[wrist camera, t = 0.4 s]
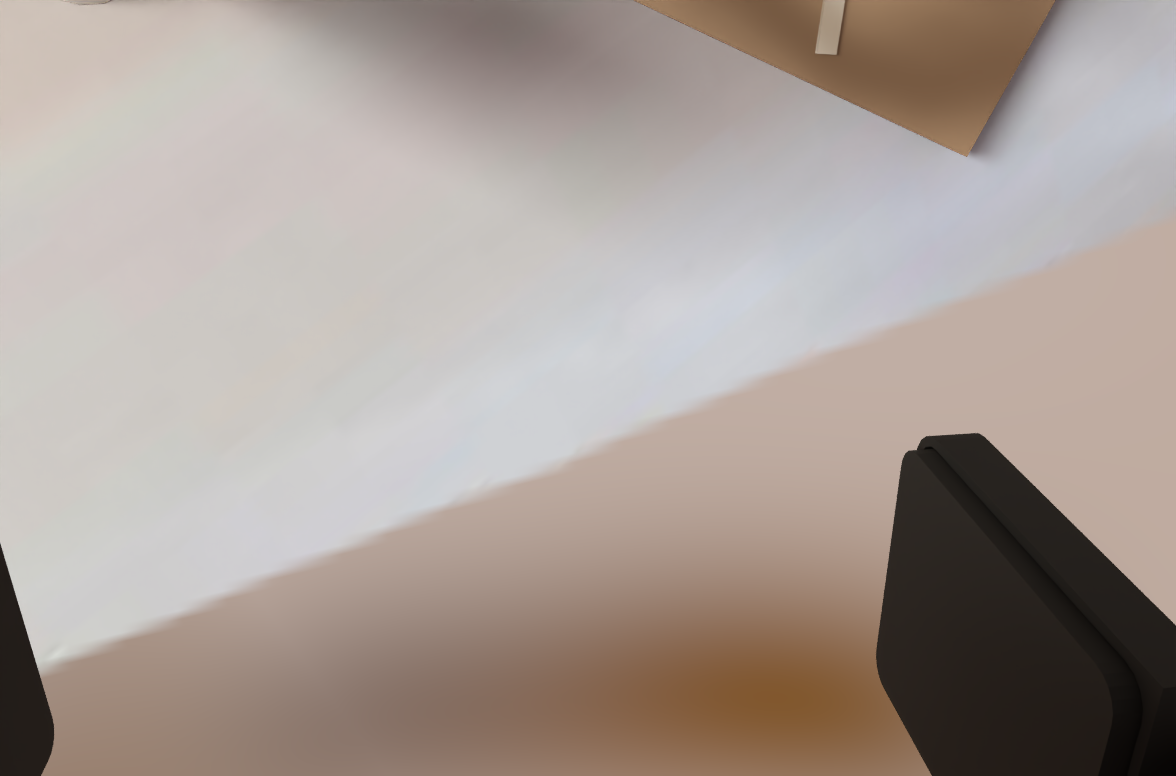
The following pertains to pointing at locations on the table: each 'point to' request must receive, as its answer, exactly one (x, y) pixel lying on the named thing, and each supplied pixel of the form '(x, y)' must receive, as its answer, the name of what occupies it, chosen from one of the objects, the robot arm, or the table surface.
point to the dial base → (885, 52)
